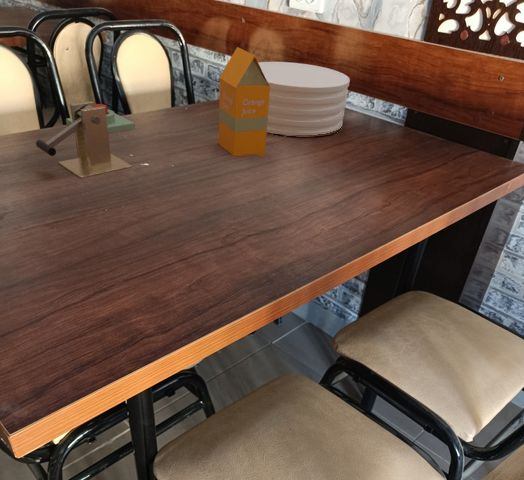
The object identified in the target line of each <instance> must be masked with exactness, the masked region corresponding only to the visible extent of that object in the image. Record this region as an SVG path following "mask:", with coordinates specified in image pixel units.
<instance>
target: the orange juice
mask: <svg viewBox="0 0 524 480" xmlns="http://www.w3.org/2000/svg"><path fill="white" fill-rule="evenodd" d="M258 62H259V61H258V59H257V57H256V55H255V54H253V53H251V52H249V51H247V50H245V49H243V48H241V47H238V46H236V48H235V50H234V51H233V54H231V57H230V59H229V60H228V62H227V64H226V65H225V67H224V69H223V70H222V72H221V74H220V76H219V97H218V98H219V100H218V101H219V102H218V103H219V104H218V105H219V106H218V144H219V145H220V146H221V147H222V148H224V149H225V150H226V151H227V152H228V153H229V154H231V155H232V157H243V156H252V155H253V156H254V155H256V156H260V157H262V156H265V157H266V144H267V134H268V133H267V123H268V107H269V93H270V85H269V84H268V82H267V80H266V78H265V76H264V74H263V72H262V70H261V68H260V66H259V64H258Z"/></svg>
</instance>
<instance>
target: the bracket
mask: <svg viewBox="0 0 524 480" xmlns="http://www.w3.org/2000/svg"><path fill="white" fill-rule="evenodd" d="M95 104H96V103H95V101H92V100H90V101H81V102H74V103H69V109H70V114H71V115H70V116H71V118H72V121H73V122H75V121H76V120H77V119H79V116H78V114H77V113H78V112H79V111H80V110H81V117H82V124H83V126H82V127H81V128H79V129H78V130H77V131H75V132H74V133H73V134H74V140H75V146H76V152H77V153H76V154H77V158H72V159H66V160H61V161H58V162H57V164H58V165H60V166H61V167H62V168H64V169H66V170H67V171H68V172H70V173H71V174H73V175H75V176H76V177H77V178H79V179H86V178H89V177H94V176H100V175H104V174H108V173H112V172H117V171H122V170H127V169H132V168H133V165H132V164H130V163H128V162H127V161H125V160H123V159H121V158H119V157H118V156H116V155H114V154H112V153H111V146H110V137H109V133H108V128H107V119H106V110H105V107H95ZM87 105H90V106H92V107H94V108H88V109H83V108H85V107H86V106H87Z"/></svg>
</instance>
